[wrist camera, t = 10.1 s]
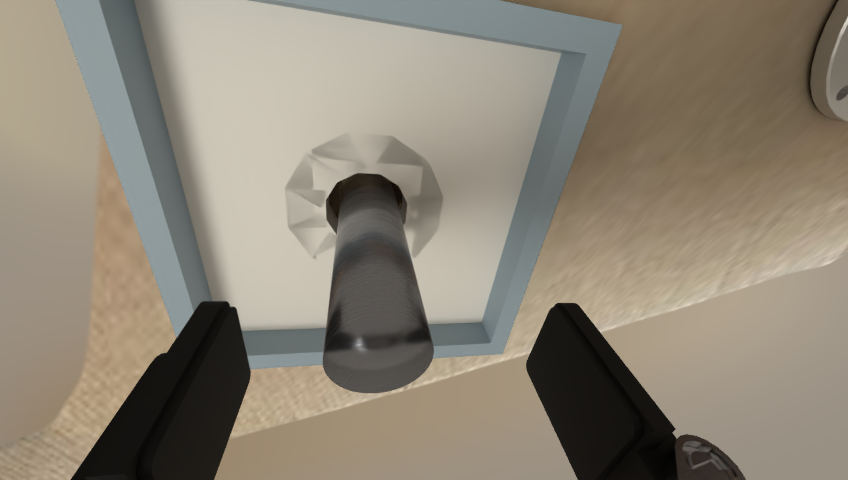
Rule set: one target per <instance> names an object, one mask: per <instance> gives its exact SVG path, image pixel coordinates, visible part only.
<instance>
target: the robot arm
mask: <svg viewBox="0 0 848 480" xmlns="http://www.w3.org/2000/svg"><path fill="white" fill-rule="evenodd" d="M810 86H811V93H812V99H813V101H814V103H815V105H816V107H817V109H818V110H819V111H820V112H821V113H822V114H824V115H825V116H826V117H829V118H832V119H835V120H839V121H847V122H848V0H838V2H837V4H836V6H835V8H834V9H833V11H832V13H831V15H830V17H829V19H828V21H827V23H826V25H825V27H824V30H823V32H822V35H821V37H820V40H819V42H818V45H817V48H816V52H815V56H814V59H813V63H812V69H811V80H810ZM526 368H527V372H528V374H529V376H530V378H531V381H532V383H533V385H534V387H535V389H536V391H537V394H538V396H539V398H540V400H541V402H542V404H543V406H544V408H545V411H546V413H547V415H548V417H549V419H550V421H551V423H552V425H553V427H554V430H555V432H556V434H557V436H558V438H559V440H560V443H561V445H562V447H563V449H564V451H565V453H566V455H567V457H568V460H569V462H570V464H571V466H572V468H573V470H574V472H575V475H576V477H577V479H578V480H746V479H745V477H744V475H743V474H742V472H741V471H740V469H739V468H738V466H737V465H736V464H735V463H734V462H733V461H732V460H731V459H730V458H729V457H728V456H727V455H726V454H725V453H724V452H723V451H721V450H720V449H719V448H718V447H716V446H715V445H713V444H712V443H710V442H708V441H707V440H705V439H702V438H700V437H697V436H694V435H688V434H686V435H682V436H679V437H678V438H677V439H676V437H675V436H674V435H673V433H672V432H673V431H674V430H675V428H674V427H673V425H672V424H671V423H670V421H669V420H668V419H667V418H666V416H665V415H664V414H663V413H662V411H661V410H660V409H659V407H658V406H657V405H656V403H655V402H654V401H653V400H652V398H651V397H650V396H649V394H648V393H647V392H646V391H645V389H644V388H643V387H642V386H641V384H640V383H639V382H638V380H637V379H636V378H635V377H634V375H633V374H632V373H631V372H630V370H629V369H628V368H627V367H626V365H625V364H624V363H623V361H622V360H621V359H620V357H619V356H618V355H617V354H616V353H615V351H614V350H613V349H612V347H611V346H610V345H609V344H608V342H607V341H606V340H605V338H604V337H603V336H602V334H601V333H600V332H599V331H598V329H597V328H596V327H595V325H594V324H593V323H592V322H591V320H590V319H589V318H588V317H587V315H586V314H585V313H584V311H583V310H582V309H581V308H580V306H579V305H578V304H576V303H557V304H556V305H555V306H554V308H551V309H550V311H549V313H548V315H547V317H546V320H545V322H544V324H543V326H542V328H541V331H540V333H539V335H538V337H537V340H536V342H535V344H534V346H533V349H532V351H531V353H530V355H529V357H528V360H527V363H526ZM250 373H251V371H250V366H249V361H248V357H247V352H246V348H245V344H244V339H243V335H242V330H241V326H240V321H239V317H238V313H237V309H236V307H230V304H229V303H228V302H227V301H203V302H201V303H200V304H199V305H198V307H197V308H196V310H195V311H194V313H193V314H192V316H191V317H190V319H189V320H188V322H187V323H186V325H185V326H184V328H183V329H182V331H181V332H180V334H179V335H178V337H177V338H176V340H175V341H174V343H173V344H172V346H171V347H170V349H169V350H168V352H167V353H162V354H160V355H159V356H157V357H156V358H155V359H154V360H153V361H152V363H151V364H150V365H149V367H148V368H147V370H146V371H145V373H144V374H143V376H142V377H141V378H140V380H139V381H138V383H137V384H136V386H135V387H134V389H133V390H132V391H131V393H130V394H129V396H128V397H127V399H126V400H125V402H124V403H123V405H122V406H121V407H120V409H119V410H118V412H117V413H116V415H115V416H114V418H113V419H112V420H111V422H110V423H109V425H108V426H107V428H106V429H105V431H104V432H103V434H102V435H101V436H100V438H99V439H98V441H97V442H96V444H95V445H94V447H93V448H92V450H91V451H90V452H89V454H88V455H87V457H86V458H85V460H84V461H83V463H82V464H81V465H80V467H79V468H78V470H77V471H76V473H75V474H74V476H73V477H72V479H71V480H214V478H215V475H216V473H217V470H218V467H219V464H220V461H221V459H222V456H223V453H224V450H225V448H226V445H227V442H228V440H229V437H230V434H231V431H232V428H233V426H234V423H235V420H236V417H237V415H238V412H239V409H240V406H241V404H242V401H243V398H244V395H245V393H246V390H247V387H248V384H249V381H250Z"/></svg>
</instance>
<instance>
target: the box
mask: <svg viewBox="0 0 848 480" xmlns="http://www.w3.org/2000/svg"><path fill="white" fill-rule="evenodd" d="M55 1H56V4H57V7H58V9H59V12H60V15H61V18H62V21H63V23H64V26H65V29H66V32H67V34H68V37H69V40H70V43H71V46H72V48H73V51H74V54H75V57H76V60H77V62H78V65H79V68H80V71H81V73H82V76H83V79H84V82H85V85H86V87H87V90H88V93H89V95H90V98H91V101H92V104H93V107H94V109H95V112H96V115H97V118H98V121H99V123H100V126H101V129H102V132H103V135H104V137H105V140H106V143H107V146H108V148H109V151H110V154H111V157H112V160H113V162H114V165H115V168H116V171H117V173H118V176H119V179H120V182H121V185H122V187H123V190H124V193H125V196H126V198H127V201H128V204H129V207H130V210H131V212H132V215H133V218H134V221H135V224H136V226H137V229H138V232H139V235H140V237H141V240H142V243H143V246H144V249H145V251H146V254H147V257H148V260H149V262H150V265H151V268H152V271H153V274H154V276H155V279H156V282H157V285H158V287H159V290H160V293H161V296H162V299H163V301H164V304H165V307H166V310H167V312H168V315H169V318H170V321H171V324H172V326H173V329H174V332H175V335H176V337H178V335H179V334H180V332H181V331H182V329H183V328H184V326H185V325H186V323H187V322H188V320H189V319H190V317H191V316H192V314H193V313H194V311H195V310H196V308H197V307H198V305H199V304H200V303H201V302H203V301H227V302H228V303H229V304H230V307H236V309H237V313H238V317H239V321H240V326H241V330H242V335H243V339H244V344H245V348H246V352H247V357H248V361H249V366H250V369H261V368H278V367H295V366H312V365H323V351H324V342H325V334H326V325H327V316H328V307H329V298H330V289H331V280H332V271H333V263H334V254H335V245H336V236H337V227H338V217H337V216H336V214H335V213H334V211H333V210H332V208H331V207H330V205H329V194H330V193H331V191H332V190H333V188H334V187H335V185H336V183H337V182H339V181H341V180H343V179H346V178H348V177H350V176H352V175H354V174H356V173H368V174H381V175H382V176H384V177H385V178H387V179H388V180H390V181H392V182H393V183H395V184H396V185H398V186H399V188H400V190H401V192H402V194H403V198H402V208H401V209H400V210H399V211H400V215H401V219H402V223H403V227H404V231H405V235H406V239H407V243H408V247H409V251H410V255H411V259H412V263H413V267H414V271H415V275H416V278H417V282H418V286H419V290H420V294H421V298H422V302H423V306H424V310H425V314H426V318H427V322H428V326H429V330H430V334H431V338H432V342H433V346H434V355H433V358H445V357H462V356H479V355H495V354H503V351H504V348H505V346H506V343H507V340H508V337H509V335H510V332H511V329H512V326H513V324H514V321H515V318H516V315H517V313H518V310H519V307H520V305H521V302H522V299H523V296H524V294H525V291H526V288H527V285H528V283H529V280H530V277H531V274H532V272H533V269H534V266H535V264H536V261H537V258H538V255H539V253H540V250H541V247H542V244H543V242H544V239H545V236H546V233H547V231H548V228H549V225H550V223H551V220H552V217H553V214H554V212H555V209H556V206H557V203H558V201H559V198H560V195H561V192H562V190H563V187H564V184H565V182H566V179H567V176H568V173H569V171H570V168H571V165H572V162H573V160H574V157H575V154H576V151H577V149H578V146H579V143H580V141H581V138H582V135H583V132H584V130H585V127H586V124H587V121H588V119H589V116H590V113H591V110H592V108H593V105H594V102H595V100H596V97H597V94H598V91H599V89H600V86H601V83H602V80H603V78H604V75H605V72H606V69H607V67H608V64H609V61H610V59H611V56H612V53H613V50H614V48H615V45H616V42H617V39H618V37H619V34H620V31H621V28H622V26H623V25H621V24H616V23H611V22H606V21H601V20H596V19H591V18H586V17H581V16H576V15H571V14H566V13H561V12H556V11H550V10H545V9H540V8H535V7H530V6H525V5H520V4H515V3H510V2H505V1H500V0H55Z"/></svg>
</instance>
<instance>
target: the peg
mask: <svg viewBox="0 0 848 480" xmlns="http://www.w3.org/2000/svg"><path fill="white" fill-rule="evenodd" d="M433 355H434V346H433V342H432V338H431V334H430V330H429V326H428V322H427V318H426V314H425V310H424V306H423V302H422V298H421V294H420V290H419V286H418V282H417V278H416V275H415V271H414V267H413V263H412V259H411V255H410V251H409V247H408V243H407V239H406V235H405V231H404V227H403V223H402V219H401V215H400V211H399V208H398V204H397V200H396V196H395V192H394V188H393V186H392V184H391V182H390V181H389V180H388V179H387V178H385V177H384V176H382V175H381V174H368V173H356V174H354V175H352V176H350V177H349V178H348V179H347V180H346V182H345V183H344V185H343V188H342V192H341V201H340V209H339V218H338V227H337V236H336V245H335V254H334V263H333V271H332V280H331V289H330V298H329V307H328V316H327V325H326V334H325V342H324V351H323V367H324V370H325V372H326V374H327V376H328V377H329V378H330V379H331V380H332V381H333V382H334V383H335V384H337V385H339V386H340V387H343V388H345V389H348V390H351V391H355V392H360V393H380V392H387V391H391V390H395V389H398V388H401V387H403V386H405V385H407V384H409V383H411V382H413V381H414V380H416V379H417V378H418V377H420V376H421V375H422V374H423V373H424V372H425V371H426V370H427V368H428V367H429V365H430V363H431V361H432V359H433Z"/></svg>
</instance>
